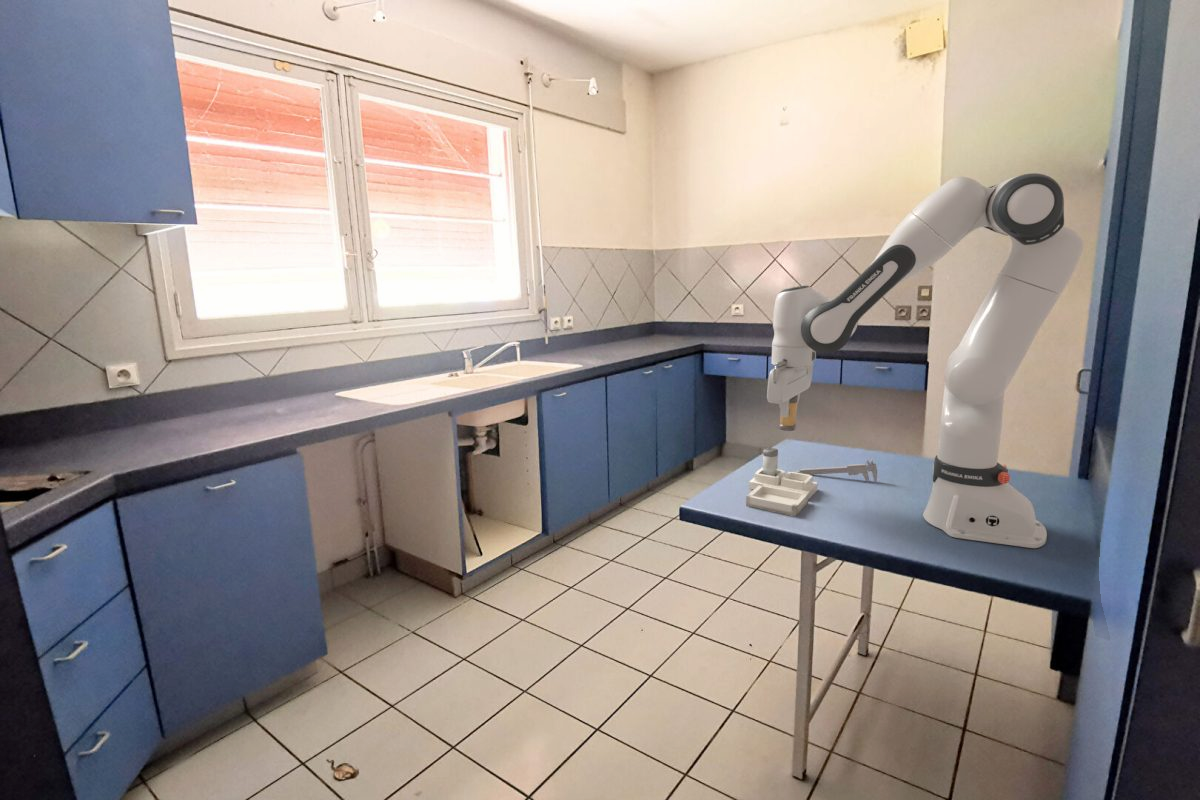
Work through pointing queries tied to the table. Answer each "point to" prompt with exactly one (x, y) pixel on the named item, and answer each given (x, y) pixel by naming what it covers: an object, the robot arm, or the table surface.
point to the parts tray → (777, 500)
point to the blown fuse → (790, 416)
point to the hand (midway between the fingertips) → (788, 414)
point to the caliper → (845, 470)
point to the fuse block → (781, 476)
